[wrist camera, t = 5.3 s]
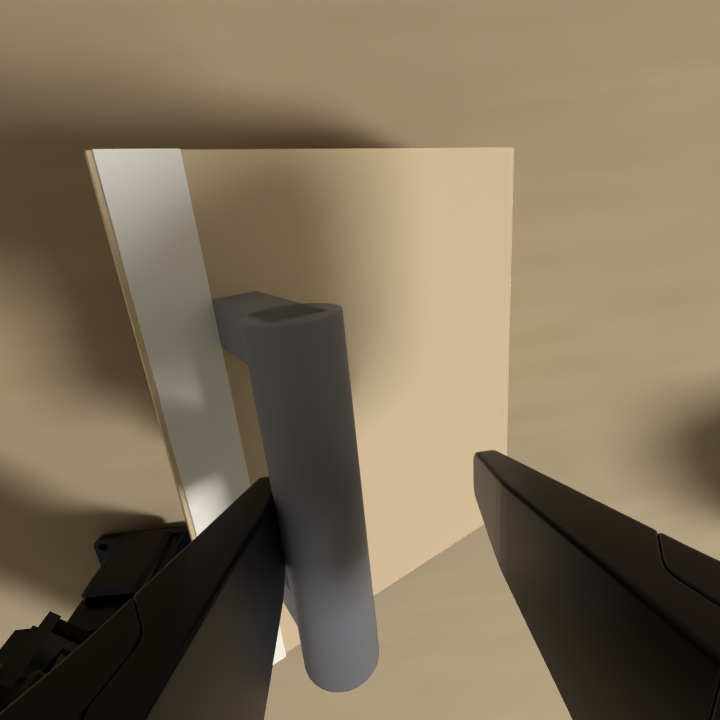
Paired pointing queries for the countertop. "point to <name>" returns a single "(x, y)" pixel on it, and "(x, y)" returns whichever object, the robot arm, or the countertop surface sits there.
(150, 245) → the beige handled lid
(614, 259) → the countertop surface
